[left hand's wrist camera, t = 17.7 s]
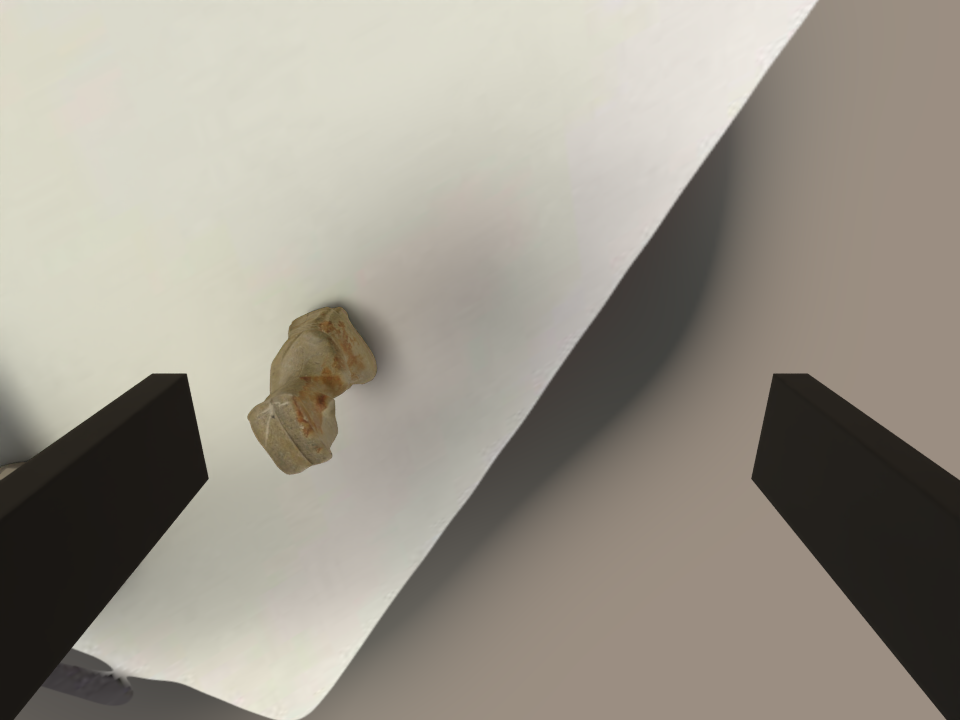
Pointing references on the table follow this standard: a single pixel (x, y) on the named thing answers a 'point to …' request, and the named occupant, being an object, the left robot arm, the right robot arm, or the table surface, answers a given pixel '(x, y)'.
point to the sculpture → (310, 388)
